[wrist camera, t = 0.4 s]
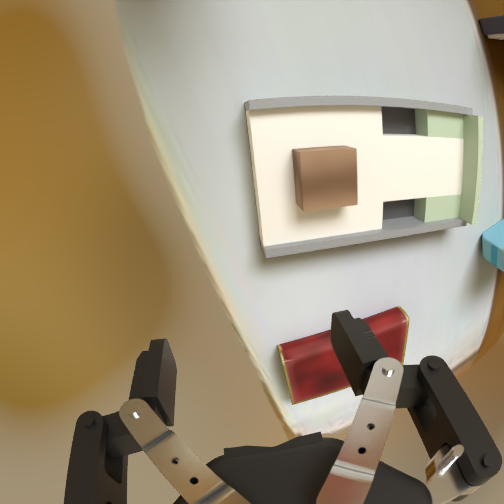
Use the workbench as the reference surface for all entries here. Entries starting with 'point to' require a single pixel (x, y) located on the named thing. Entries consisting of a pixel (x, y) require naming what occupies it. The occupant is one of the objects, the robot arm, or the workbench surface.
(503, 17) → the grey white red block
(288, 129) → the box
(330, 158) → the walnut block
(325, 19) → the workbench surface
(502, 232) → the data package
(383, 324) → the hardcover book
